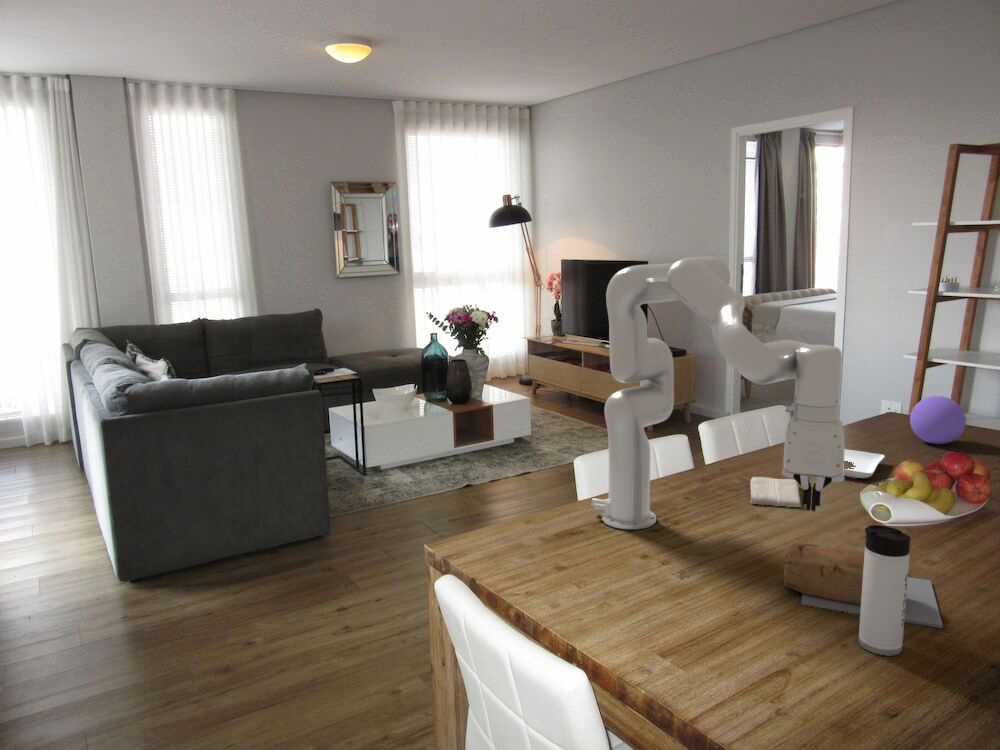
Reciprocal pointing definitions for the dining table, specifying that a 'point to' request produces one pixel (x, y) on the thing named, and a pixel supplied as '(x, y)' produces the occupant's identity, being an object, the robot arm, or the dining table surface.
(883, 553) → the travel mug
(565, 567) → the dining table surface
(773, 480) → the washcloth
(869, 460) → the salad plate
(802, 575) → the block
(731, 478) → the dining table surface
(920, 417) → the decorative ball
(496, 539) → the dining table surface
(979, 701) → the dining table surface
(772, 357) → the robot arm
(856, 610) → the mat
